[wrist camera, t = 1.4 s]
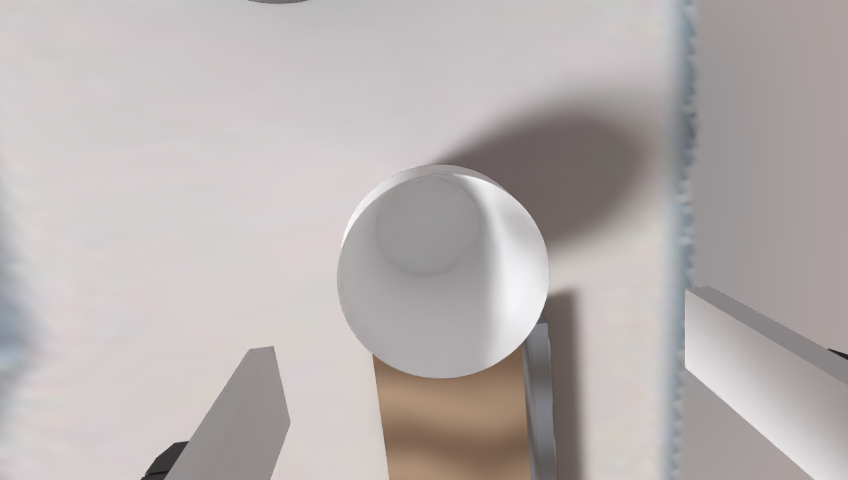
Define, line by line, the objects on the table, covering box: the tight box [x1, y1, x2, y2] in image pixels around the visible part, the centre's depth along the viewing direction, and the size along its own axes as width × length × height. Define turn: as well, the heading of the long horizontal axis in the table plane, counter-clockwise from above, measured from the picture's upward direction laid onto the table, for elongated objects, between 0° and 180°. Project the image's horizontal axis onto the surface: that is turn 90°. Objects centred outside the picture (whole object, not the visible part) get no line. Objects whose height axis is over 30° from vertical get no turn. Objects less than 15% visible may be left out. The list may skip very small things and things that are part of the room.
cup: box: [337, 164, 549, 378], centre depth 26 cm, size 9×9×12 cm
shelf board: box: [373, 315, 557, 480], centre depth 33 cm, size 19×11×4 cm, turn 6°
